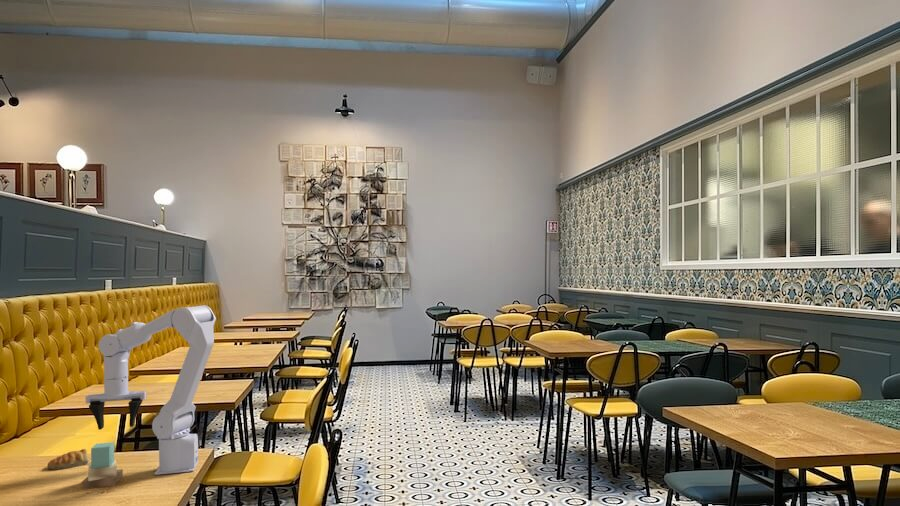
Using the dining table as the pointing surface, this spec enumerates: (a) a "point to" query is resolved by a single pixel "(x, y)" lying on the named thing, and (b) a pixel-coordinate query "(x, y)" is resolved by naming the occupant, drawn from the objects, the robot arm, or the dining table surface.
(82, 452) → the pastry
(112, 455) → the teal block
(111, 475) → the tower top
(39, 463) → the dining table surface
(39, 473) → the dining table surface
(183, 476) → the dining table surface
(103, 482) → the tower base
